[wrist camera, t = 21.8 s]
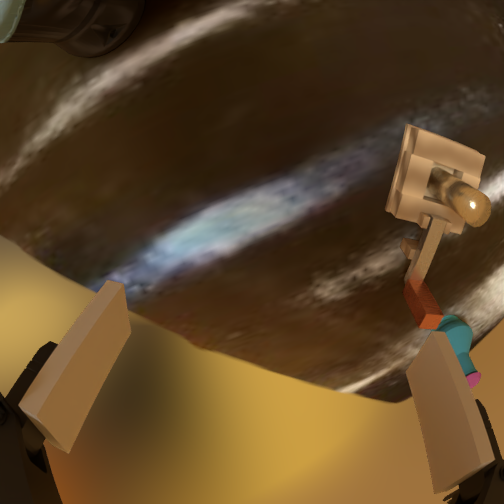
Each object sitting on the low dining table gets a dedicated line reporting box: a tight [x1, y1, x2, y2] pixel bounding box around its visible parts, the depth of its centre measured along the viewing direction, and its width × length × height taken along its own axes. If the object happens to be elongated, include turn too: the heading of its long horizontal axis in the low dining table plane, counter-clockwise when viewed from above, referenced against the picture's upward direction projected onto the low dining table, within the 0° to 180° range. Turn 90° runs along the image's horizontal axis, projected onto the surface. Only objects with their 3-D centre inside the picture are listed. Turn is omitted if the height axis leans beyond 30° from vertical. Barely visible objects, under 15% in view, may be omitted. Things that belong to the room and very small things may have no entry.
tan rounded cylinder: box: [426, 167, 491, 227], centre depth 31 cm, size 4×4×12 cm
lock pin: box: [402, 214, 447, 329], centre depth 35 cm, size 12×3×10 cm, turn 173°
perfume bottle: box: [431, 315, 481, 389], centre depth 44 cm, size 9×9×15 cm
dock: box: [385, 124, 485, 259], centre depth 36 cm, size 18×13×5 cm
